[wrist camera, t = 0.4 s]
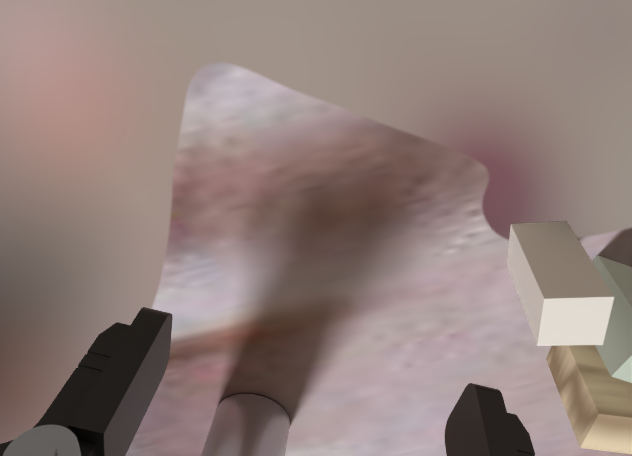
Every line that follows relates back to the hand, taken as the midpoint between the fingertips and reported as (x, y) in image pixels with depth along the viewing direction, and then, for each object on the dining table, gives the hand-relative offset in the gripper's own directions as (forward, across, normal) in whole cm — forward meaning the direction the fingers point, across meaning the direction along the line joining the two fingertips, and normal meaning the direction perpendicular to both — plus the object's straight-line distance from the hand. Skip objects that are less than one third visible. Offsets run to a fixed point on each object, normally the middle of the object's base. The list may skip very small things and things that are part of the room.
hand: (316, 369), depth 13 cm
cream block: (+29, +19, -10) cm, 36 cm away
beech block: (+29, +28, -20) cm, 45 cm away
